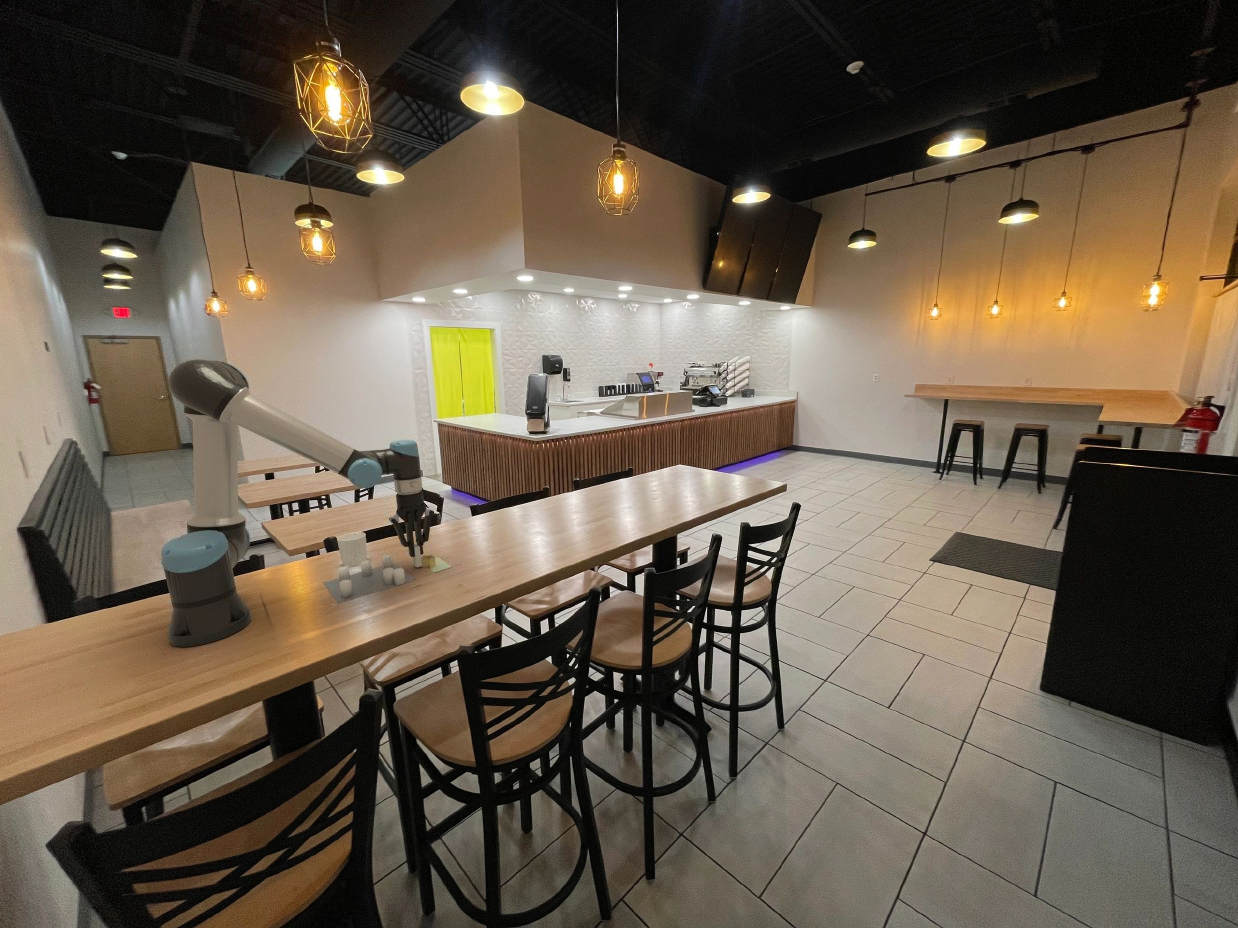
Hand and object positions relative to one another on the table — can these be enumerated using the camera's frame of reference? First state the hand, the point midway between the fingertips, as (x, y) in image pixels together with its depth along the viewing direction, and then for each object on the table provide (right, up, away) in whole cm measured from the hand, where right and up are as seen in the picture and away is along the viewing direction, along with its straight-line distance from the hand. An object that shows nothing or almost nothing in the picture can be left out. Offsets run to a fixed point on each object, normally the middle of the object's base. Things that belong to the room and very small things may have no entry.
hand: (417, 565), depth 145 cm
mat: (+2, -1, +2) cm, 3 cm away
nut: (+2, -1, +2) cm, 3 cm away
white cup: (-22, -2, +6) cm, 23 cm away
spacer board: (-10, -4, -9) cm, 14 cm away
